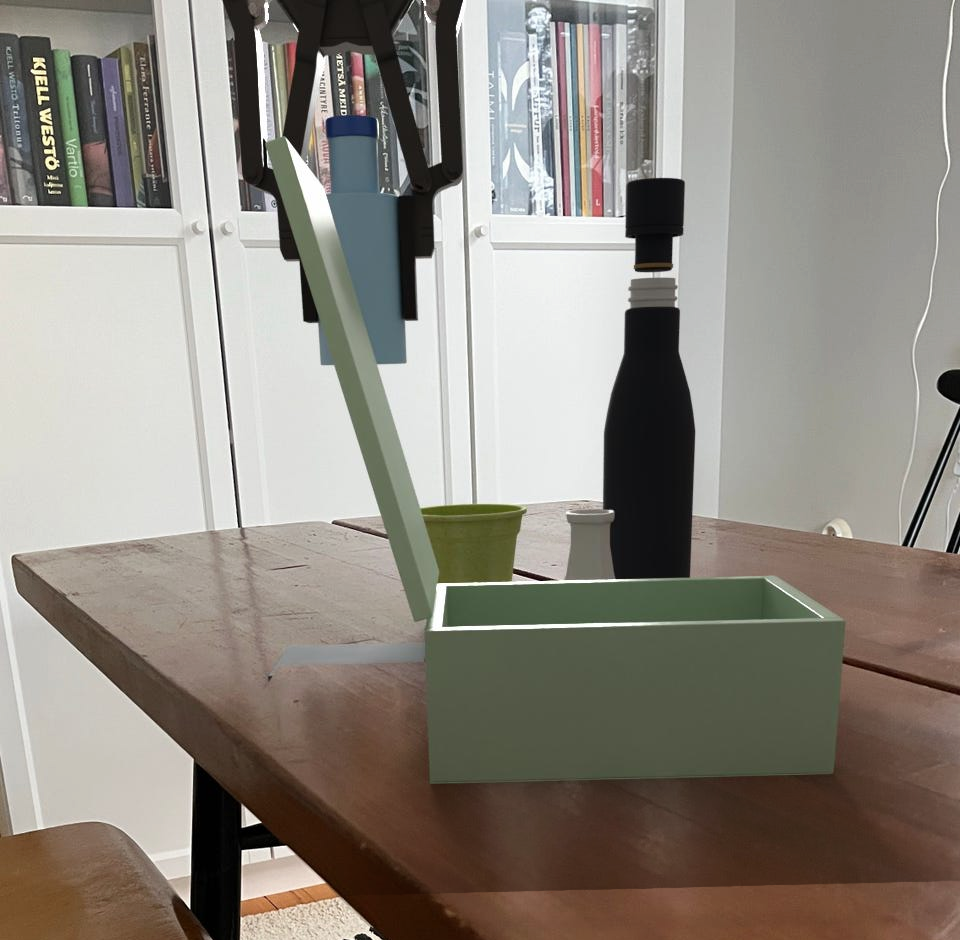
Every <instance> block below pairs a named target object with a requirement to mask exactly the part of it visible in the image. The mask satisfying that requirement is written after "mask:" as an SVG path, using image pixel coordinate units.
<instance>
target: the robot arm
mask: <svg viewBox="0 0 960 940" xmlns="http://www.w3.org/2000/svg"><path fill="white" fill-rule="evenodd" d="M221 1H222V4H223V7H224V9H225V11H226V16H227V17H228V20H229V22H230V25H231V28H232V31H233V38H234V55H235V57H234V59H235V72H236V73H235V74H236V90H237V91H236V93H237V108H238V123H239V124H238V125H239V126H238V127H239V129H238V130H239V145H240V160H241V161H240V162H241V163H240V164H241V175H242V179H243V180H244V182H246V184H247V185H249V186H250V187H251V188H252V189H253V190H255V191H259V192H262V193H265V194H267V195H270V196H272V197H273V198H274V200H275V203H276V213H277V225H278V226H277V228H278V238H279V251H280V253H281V256H282V258H283V260H284V261H286V262H287V263H288V262H292V263H293V262H298V263H299V275H300V276H299V277H300V288H301V289H300V291H301V307H302V321H303V322H304V323H307V324H318V313H317V309H316V306H315V302H314V299H313V296H312V293H311V290H310V286H309V283H308V280H307V277H306V274H305V270H304V267H303V264H302V261H301V258H300V254H299V251H298V248H297V245H296V242H295V238H294V235H293V232H292V229H291V225H290V222H289V219H288V216H287V213H286V209H285V206H284V203H283V200H282V197H281V193H280V190H279V187H278V184H277V181H276V177H275V174H274V171H273V168H270V165H269V155H268V152H267V149H266V145H265V143H266V142H268V129H267V127H268V126H267V108H266V106H267V105H266V88H265V87H266V86H265V65H264V64H265V63H264V49H263V41H262V37H261V33H260V30H262V29H264V28H265V27H266V26H267V24H268V20H269V13H268V8H269V5H270V3H271V2H272V1H273V0H221ZM275 1H276V2H277V4H278V5H279V6H280V8H281V9H282V11H283V12H284V13H285V15H286V16H287V18H288V19H289V21H290V22H291V24H292V25H293V27H294V28H295V30H296V31H297V32H298V34H297V40H296V45H295V46H296V47H295V52H294V53H295V55H294V66H293V72H292V77H291V84H290V90H289V95H288V102H287V107H286V111H285V120H284V125H283V131H282V136H285V137H286V138H287V140H288V141H289V142H290V144H291V145H292V146H293V148H294V149H295V150H296V152H297V153H298V154H299V156H300V157H301V158H302V160H303V161H304V162H305V163H306V164H307V159H308V154H309V147H310V141H311V136H312V131H313V126H314V125H313V124H314V120H315V114H316V108H317V103H318V96H319V91H320V86H321V81H322V76H323V74H324V70H325V65H326V58H327V56H338V55H341V54H344V53H347V52H353V53H356V54H360V55H363V56H365V55H368V56H369V55H371V56H372V55H374V58H375V61H376V64H377V68H378V72H379V76H380V80H381V82H382V86H383V91H384V93H385V97H386V100H387V104H388V107H389V111H390V114H391V118H392V119H391V120H392V122H393V126H394V129H395V133H396V136H397V140H398V143H399V147H400V150H401V154H402V158H403V161H404V165H405V169H406V172H407V176H408V180H409V183H410V189H411V194H408V195H407V194H406V195H398V197H399V211H400V236H401V261H402V286H403V311H404V320H405V322H418V321H419V309H418V308H419V306H418V283H417V281H418V279H417V278H418V277H417V260H419V259H420V260H421V259H426V260H427V259H432V258H433V255H434V253H435V246H436V245H435V223H434V222H435V220H434V218H435V216H434V202H435V199H436V197H437V195H438V194H440V193H441V192H443V191H445V190H447V189H449V188H453V187H456V186H458V185H460V184H461V182H462V181H463V177H464V166H463V165H464V164H463V163H464V161H463V139H462V120H461V119H462V118H461V97H460V74H459V54H458V53H459V52H458V51H459V50H458V35H459V32H460V27H461V24H462V20H463V16H464V12H465V9H466V2H467V1H466V0H422V1H423V3H424V14H425V17H426V21H427V22H428V23H429V24H430V25H431V26H434V27H435V28H434V42H435V61H436V62H435V63H436V64H435V65H436V81H437V82H436V83H437V100H438V101H437V103H438V104H437V105H438V119H439V120H438V122H439V141H440V159H441V160H440V161H441V162H439V163H435V164H434V165H431V166H428V161H427V158H426V155H425V151H424V147H423V144H422V140H421V136H420V133H419V132H420V131H419V129H418V125H417V122H416V118H415V115H414V110H413V106H412V104H411V100H410V96H409V93H408V89H407V85H406V81H405V78H404V73H403V70H402V67H401V63H400V60H399V56H398V52H397V49H396V48H397V47H396V44H395V40H394V37H395V34H396V32H397V31H398V29H399V27H400V26H401V24H402V22H403V20H404V18H405V17H406V15H407V13H408V11H409V10H410V8H411V6H412V4H413V3H414V1H415V0H275Z"/></svg>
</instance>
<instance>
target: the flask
mask: <svg viewBox="0 0 960 940" xmlns="http://www.w3.org/2000/svg"><path fill="white" fill-rule="evenodd" d="M565 513H566V514H565V515H566V516H565V517H566V521H567V523H568V524H569V525H570V544H569V549H568V550H569V551H568V556H567V562H566V569H565V574H564V577H563V580H562V581H577V580H616V579H615V575H614V570H613V563H612V557H611V550H610V523H611V522H613V520H614V511H613V510H603V509H598V508H597V509H596V508H595V509H594V508H593V509H592V508H591V509H590V508H589V509H573V510H568V511H566V512H565Z"/></svg>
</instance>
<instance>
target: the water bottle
mask: <svg viewBox="0 0 960 940" xmlns="http://www.w3.org/2000/svg"><path fill="white" fill-rule="evenodd" d="M324 123H325V124H324V125H325V126H324V127H325V138H326V141H327V145H328V148H327V149H328V163H329V164H328V165H329V183H330V193H325V194H326V197H327V200H328V204H329V207H330V210H331V214H332V217H333V220H334V223H335V227H336V230H337V233H338V237H339V240H340V243H341V247H342V250H343V253H344V257H345V260H346V263H347V267H348V270H349V273H350V277H351V280H352V283H353V287H354V290H355V293H356V297H357V300H358V303H359V307H360V310H361V313H362V317H363V320H364V323H365V327H366V330H367V333H368V336H369V340H370V343H371V346H372V350H373V353H374V356H375V360H376V363H377V366H379V365H403V364H407V362H408V361H407V360H408V359H407V335H406V333H407V332H406V321H405V320H404V311H403V286H402V261H401V236H400V211H399V195H396V194H392V193H385V192H380V178H379V177H380V176H379V175H380V174H379V155H378V154H379V153H378V140H379V138H380V136H379V134H380V133H379V120H378V118H376V117H374V116H370V115H364V114H341V115H334V116H330V117H327V118H326V119H325V121H324ZM317 313H318V312H317ZM317 328H318V343H319V344H318V345H319V359H320V360H319V362H320V366H334V363H333V360H332V357H331V354H330V350H329V347H328V344H327V341H326V338H325V334H324V331H323V328H322V325H321V322H320V318H319V315H318V323H317Z"/></svg>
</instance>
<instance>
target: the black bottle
mask: <svg viewBox="0 0 960 940" xmlns="http://www.w3.org/2000/svg"><path fill="white" fill-rule="evenodd" d="M685 190H686V182H685V180H683V179H681V178H675V177H649V178H639V179H634V180H630V181H628V182H626V185H625V221H624V223H625V225H624V226H625V227H624V229H625V230H624V237H625V238H626V239H633V240H634V241H635V242H634V264H633V270H634V272H636V273H664V272H671V271H672V269H673V268H674V263H673V249H674V247H673V244H674V242H673V241H674V238H678V237H681V236H683V235H684V224H685V222H684V221H685V194H686V193H685V192H686V191H685ZM676 280H677V279H676V278H675V277H640V278H639V277H638V278H633V279H630V285H629V287H628V288H627V290H628V292H630V296H629V297H628V298H627V301H628V303H629V308H627V309H626V310H625V311H624V325H623V326H624V328H623V355H622V358H621V360H620V363H619V367H618V370H617V372H616V376H615V379H614V382H613V386H612V388H611V392H610V397H609V401H608V406H607V410H606V417H605V422H604V428H603V456H602V457H603V462H602V465H603V466H602V467H603V468H602V469H603V470H602V472H603V473H602V475H603V476H602V510H613V511H614V520H613V522H611V523H610V550H611V557H612V563H613V570H614V575H615V579H616V580H618V579H658V578H691V566H692V565H691V562H692V535H693V511H694V510H693V508H694V485H695V483H694V482H695V456H696V454H695V453H696V423H695V414H694V408H693V402H692V395H691V390H690V387H689V383H688V380H687V375H686V372H685V368H684V365H683V362H682V358H681V355H680V329H681V328H680V325H681V321H680V320H681V310H680V308H679V307H677V306H676V304H675V303H676V301H677V300H678V296H676V290H677V289H678V287H679V286H678V285H677V284H676Z"/></svg>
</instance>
